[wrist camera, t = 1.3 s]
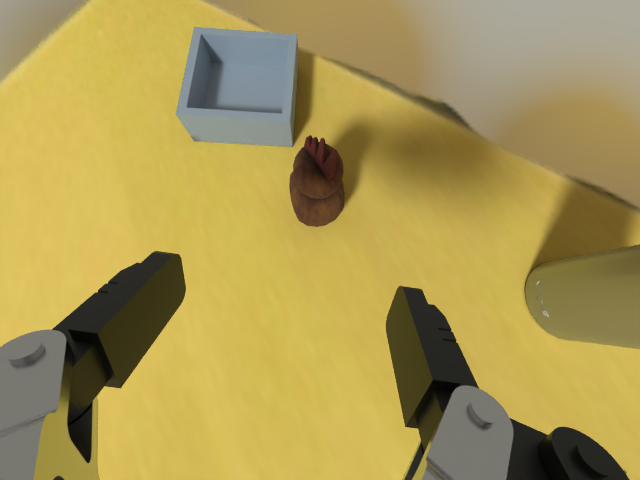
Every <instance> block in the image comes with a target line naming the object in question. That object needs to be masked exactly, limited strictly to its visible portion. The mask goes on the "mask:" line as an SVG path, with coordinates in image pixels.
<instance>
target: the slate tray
mask: <svg viewBox="0 0 640 480" xmlns="http://www.w3.org/2000/svg"><path fill="white" fill-rule="evenodd" d="M298 69H299V67H298V44H297V34H283V33H270V32H256V31H242V30H228V29H214V28H200V27H194V30H193V35H192V40H191V45H190V49H189V54H188V59H187V64H186V69H185V73H184V78H183V83H182V88H181V93H180V98H179V102H178V107H177V112H176V115H177V117H178V118H179V120H180V121H181V122H182V124H183V125H184V127H185V128H186V130H187V131H188V133H189V134H190V136H191V137H192V138H193V140H194V141H202V142H218V143H235V144H252V145H268V146H285V147H293V135H294V122H295V109H296V95H297V82H298Z"/></svg>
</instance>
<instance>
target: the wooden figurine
mask: <svg viewBox="0 0 640 480" xmlns="http://www.w3.org/2000/svg"><path fill="white" fill-rule="evenodd" d="M342 177H343V163H342V160H341V158H340V156H339V154H338V153H337V151H336V150H335V149H334V148H332V147H330V146H329V145H327V144H325V139H324V138H322V139H321V140H320V142H318V139H317V137H315V138H312V136H311V135H310V136H308V137H307V138H306V141H305V145H304V147H303V148H301V150H300V151H299V153H298V154H297V156H296V157H295V161H294V164H293V172H292V173H291V175H290V195H291V201H292V205H293V208H294V211H295V214H296V216H297V218H298V220H299V221H300V222H302V223H304V224H306V225H307V226H316V227H318V226H323V225H327V224H328V223H330V222H332V221H334V220H335V219H336V218H337V217H338V216H339V214H340V213H341V211H342V210H343V207H344V188H343V182H342Z"/></svg>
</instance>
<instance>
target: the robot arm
mask: <svg viewBox="0 0 640 480" xmlns="http://www.w3.org/2000/svg"><path fill="white" fill-rule="evenodd" d="M185 291H186V286H185V280H184V273H183V267H182V261H181V257H180V255H178V254H174V253H166V252H159V251H155V252H153V253H152V254H150V255H149V256H148V257H147V258H146V259H145V260H144V261H143V262H142V263H136V264H134V265H132V266H130V267H128V268H126V269H124V270H122V271H120V272H119V273H118V274H117V275H115V276H114V277H113V278H112V279H111V280H110V281H108V284H105V285H104V286H103V287H101V288H100V289H99V290H98V292H97V293H94V294H93V295H92V296H91V297H90V298H88V299H87V300H86V301H85V302H84V303H83V304H81V305H80V306H79V307H78V308H77V309H76V310H74V311H73V312H72V313H71V314H70V315H69V316H67V317H66V318H65V319H64V320H63V321H61V322H60V323H59V324H58V325H57V326H56V327H54V328H53V329H52V330H40V331H35V332H31V333H28V334H25V335H22V336H20V337H17V338H15V339H13V340H11V341H9V342H8V343H6V344H4V345H3V346H1V347H0V480H100V479H99V474H98V465H97V459H98V399H97V397H96V396H97V395H98V394H99V392H100V391H101V390H102V388H103V387H104V386H107V387H115V388H121V387H122V386H123V384H124V383H125V381H126V380H127V379H128V377H129V376H130V375H131V373H132V372H133V370H134V369H135V368H136V366H137V365H138V363H139V362H140V361H141V359H142V358H143V356H144V355H145V354H146V352H147V351H148V349H149V348H150V347H151V345H152V344H153V342H154V341H155V340H156V338H157V337H158V335H159V334H160V333H161V331H162V330H163V328H164V327H165V326H166V324H167V323H168V321H169V320H170V319H171V317H172V316H173V315H174V313H175V312H176V310H177V309H178V308H179V306H180V305H181V303H182V301H183V299H184V296H185ZM525 297H526V302H527V306H528V308H529V310H530V312H531V315H532V316H533V317H534V319H535V320H536V322H537V323H538V324H539V325H540V326H541V327H542V328H543V329H544V330H546V331H547V332H548V333H550V334H552V335H554V336H556V337H558V338H561V339H565V340H571V341H579V342H587V343H596V344H602V345H611V346H619V347H627V348H635V349H640V244H639V245H634V246H628V247H623V248H618V249H613V250H608V251H602V252H597V253H592V254H587V255H582V256H576V257H571V258H566V259H561V260H556V261H551V262H546V263H543V264H541V265H539V266H538V267H536V268H535V269H534V270H533V271H532V272H531V274H530V275H529V277H528V279H527V282H526V287H525ZM386 333H387V338H388V343H389V348H390V353H391V358H392V363H393V368H394V373H395V378H396V383H397V388H398V393H399V398H400V403H401V408H402V413H403V418H404V423H405V427H410V428H418V429H419V434H420V438H421V440H420V442H419V444H418V446H417V448H416V450H415V452H414V455H413V457H412V459H411V461H410V463H409V466H408V468H407V470H406V472H405V474H404V477H403V479H402V480H629V478H628V477H627V475H626V474H625V473H624V471H623V470H622V468H621V467H620V466H619V464H618V463H617V462H616V461H615V459H614V458H613V457H612V456H611V455H610V454H609V453H608V452H607V451H606V450H605V449H604V448H603V447H602V446H600V445H599V444H598V443H597V442H595V441H594V440H593V439H591V438H590V437H588V436H587V435H585V434H583V433H581V432H579V431H577V430H575V429H572V428H568V427H558V428H556V429H555V430H554V431H552V432H551V433H550V434H549V435H546V434H544V433H542V432H540V431H537V430H535V429H533V428H531V427H528V426H526V425H524V424H522V423H519V422H517V421H515V420H513V419H511V418H509V416H508V414H507V413H506V411H505V410H504V409H503V407H502V406H501V405H500V404H499V403H498V402H497V401H496V400H495V399H494V398H493V397H492V396H490V395H489V394H488V393H486V392H484V391H483V390H481V389H479V387H478V385H477V383H476V381H475V379H474V377H473V375H472V373H471V370H470V368H469V366H468V364H467V362H466V360H465V358H464V356H463V353H462V351H461V349H460V347H459V345H458V343H456V339H455V336H454V334H453V332H451V328H450V326H449V324H448V322H447V319H446V317H445V316H444V315H443V314H442V313H441V312H440V311H439V309H438V308H437V307H436V306H435V305H430V304H428V303H427V300H426V298H425V296H424V293H423V291H422V290H421V289H418V288H411V287H404V286H399V287H398V289H397V291H396V294H395V296H394V299H393V302H392V305H391V307H390V310H389V313H388V316H387V320H386Z"/></svg>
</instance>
